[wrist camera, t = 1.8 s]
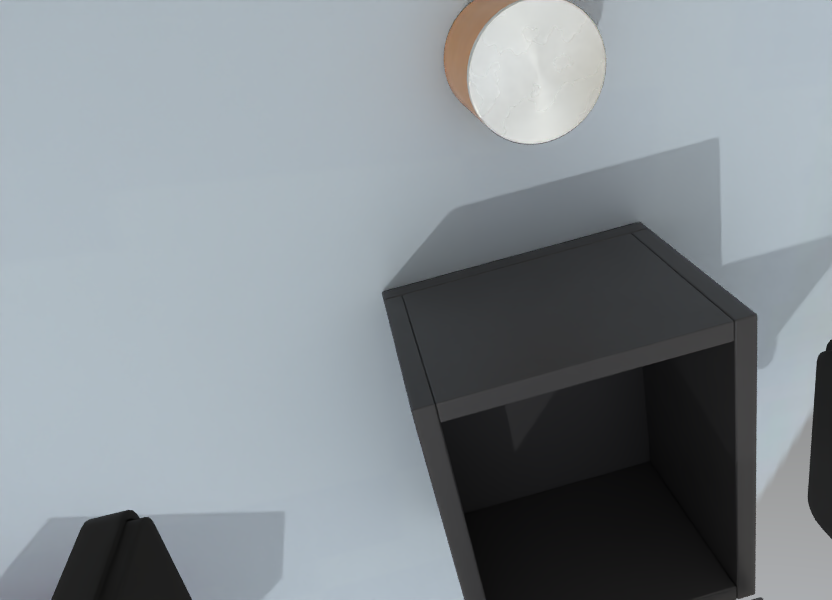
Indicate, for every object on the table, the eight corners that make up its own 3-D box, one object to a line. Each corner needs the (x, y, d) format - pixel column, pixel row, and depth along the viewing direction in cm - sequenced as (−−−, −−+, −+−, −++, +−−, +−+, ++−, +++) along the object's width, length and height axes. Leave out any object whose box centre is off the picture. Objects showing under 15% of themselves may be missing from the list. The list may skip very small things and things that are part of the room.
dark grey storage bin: (381, 291, 30) (410, 411, 22) (640, 221, 31) (758, 314, 23) (445, 518, 36) (485, 673, 29) (658, 458, 37) (755, 594, 29)
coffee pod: (432, 7, 25) (455, 17, 22) (554, -25, 26) (599, -21, 22) (456, 130, 28) (482, 159, 24) (569, 100, 28) (612, 124, 24)
